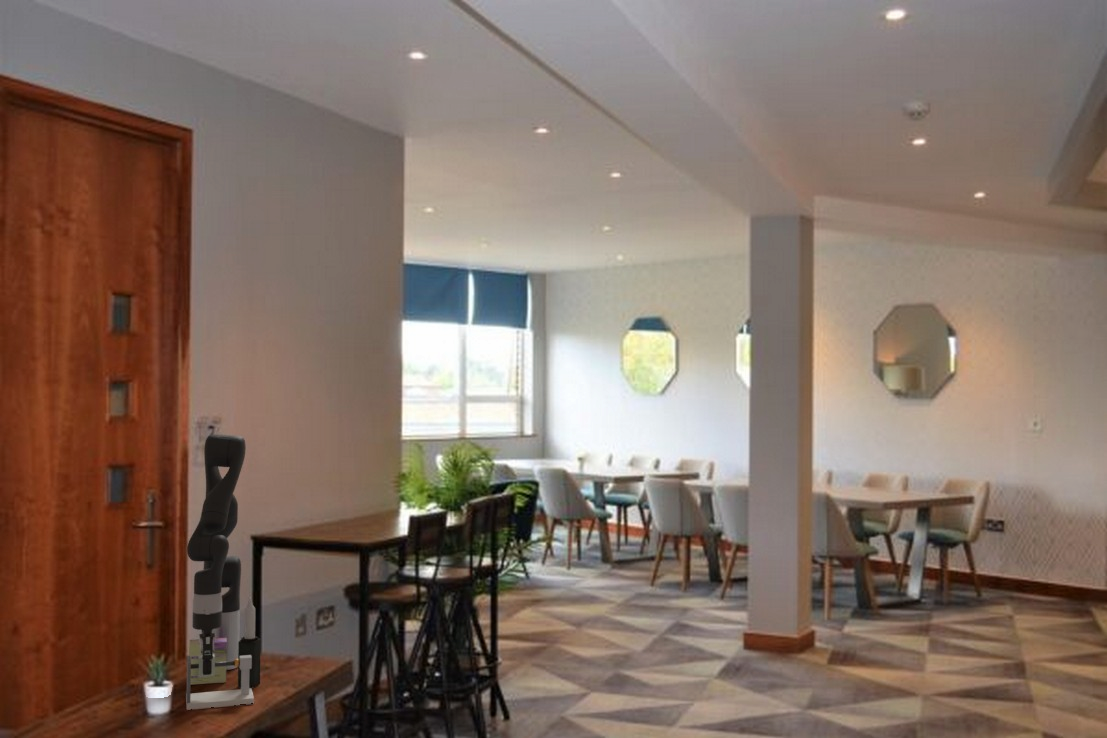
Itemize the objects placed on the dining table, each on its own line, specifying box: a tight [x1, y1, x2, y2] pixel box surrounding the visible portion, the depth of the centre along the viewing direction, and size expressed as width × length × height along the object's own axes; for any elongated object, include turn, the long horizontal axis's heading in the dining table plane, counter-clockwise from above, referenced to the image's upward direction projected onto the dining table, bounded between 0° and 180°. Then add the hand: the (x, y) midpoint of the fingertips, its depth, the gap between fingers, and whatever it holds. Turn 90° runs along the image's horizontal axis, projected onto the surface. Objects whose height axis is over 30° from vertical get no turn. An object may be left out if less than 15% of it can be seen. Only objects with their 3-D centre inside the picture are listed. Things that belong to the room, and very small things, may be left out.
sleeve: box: [198, 654, 215, 677], centre depth 281 cm, size 4×4×5 cm
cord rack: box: [185, 655, 255, 711], centre depth 282 cm, size 10×17×12 cm, turn 110°
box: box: [188, 638, 227, 686], centre depth 302 cm, size 10×6×12 cm, turn 108°
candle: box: [237, 596, 262, 689], centre depth 298 cm, size 5×5×25 cm
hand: (206, 670), depth 281 cm, fingers open, 8 cm apart
